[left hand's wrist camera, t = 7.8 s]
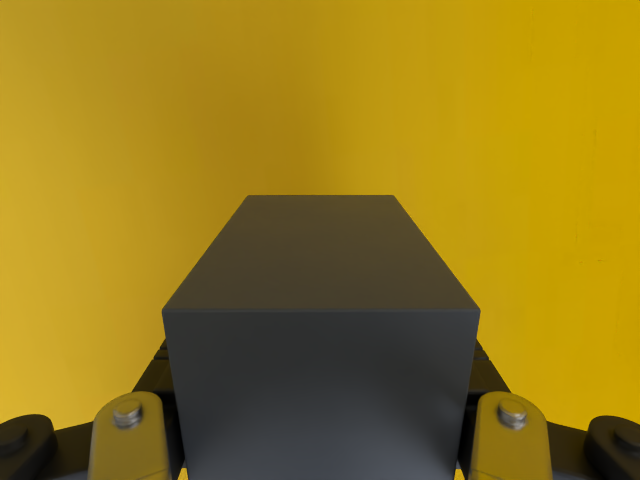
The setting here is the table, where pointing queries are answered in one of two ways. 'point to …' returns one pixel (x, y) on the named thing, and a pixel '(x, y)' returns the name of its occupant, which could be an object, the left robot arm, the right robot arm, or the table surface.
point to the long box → (321, 346)
